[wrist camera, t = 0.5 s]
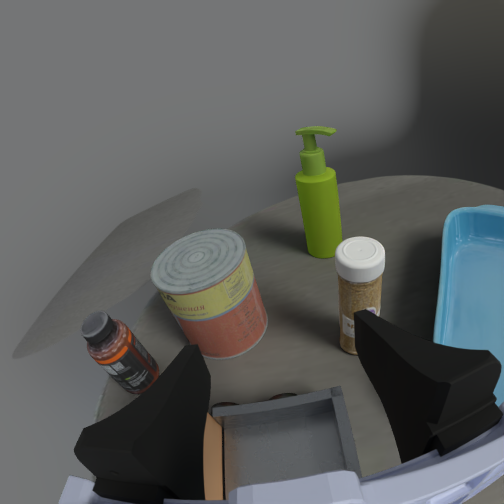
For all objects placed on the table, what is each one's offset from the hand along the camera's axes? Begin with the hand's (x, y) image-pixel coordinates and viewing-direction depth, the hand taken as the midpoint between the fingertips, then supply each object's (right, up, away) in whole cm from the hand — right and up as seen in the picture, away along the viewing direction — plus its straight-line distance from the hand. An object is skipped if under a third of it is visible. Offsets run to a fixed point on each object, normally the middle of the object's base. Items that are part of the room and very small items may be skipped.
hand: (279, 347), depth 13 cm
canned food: (-5, -6, +27) cm, 28 cm away
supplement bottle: (-16, -13, +22) cm, 30 cm away
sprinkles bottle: (+11, -6, +19) cm, 23 cm away
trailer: (+2, -17, +8) cm, 19 cm away
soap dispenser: (+11, +5, +35) cm, 37 cm away
